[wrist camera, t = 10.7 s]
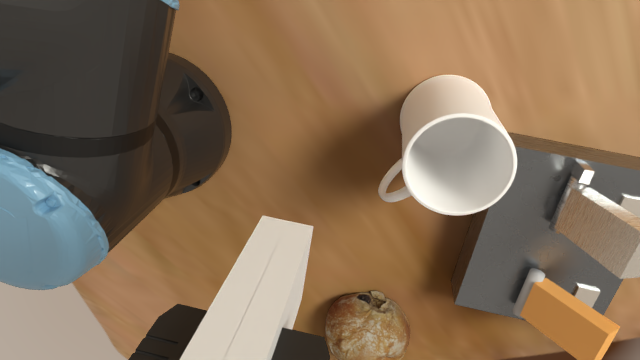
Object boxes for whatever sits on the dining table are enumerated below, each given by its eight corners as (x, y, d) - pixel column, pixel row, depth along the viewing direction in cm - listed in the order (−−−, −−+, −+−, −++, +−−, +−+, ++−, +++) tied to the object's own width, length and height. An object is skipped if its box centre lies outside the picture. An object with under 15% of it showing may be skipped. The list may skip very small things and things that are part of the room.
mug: (401, 190, 47) (401, 254, 36) (355, 124, 45) (340, 172, 34) (508, 131, 43) (543, 184, 32) (462, 55, 41) (483, 85, 30)
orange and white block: (507, 311, 45) (586, 372, 39) (525, 271, 43) (611, 329, 37) (519, 305, 46) (598, 364, 40) (537, 266, 44) (622, 322, 38)
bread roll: (409, 283, 56) (408, 299, 49) (411, 366, 56) (411, 395, 48) (330, 282, 58) (318, 297, 50) (333, 362, 58) (320, 390, 50)
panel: (450, 280, 51) (463, 365, 40) (502, 131, 43) (536, 185, 32) (578, 309, 50) (628, 404, 39) (655, 160, 42) (745, 227, 31)
